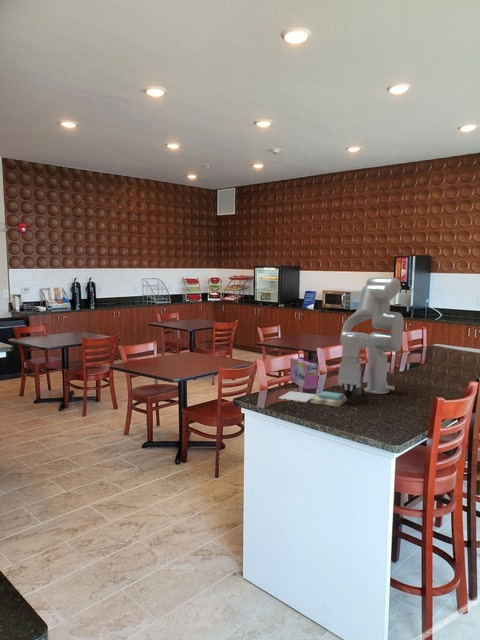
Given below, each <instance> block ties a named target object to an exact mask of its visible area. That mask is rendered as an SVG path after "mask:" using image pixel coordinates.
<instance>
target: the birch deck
mask: <svg viewBox="0 0 480 640" xmlns="http://www.w3.org/2000/svg"><path fill="white" fill-rule="evenodd" d="M320 393H321V392H318V393H317V394H316V393H315V394H316V395H315V396H313V397H312V398H310V400H309V401H310V404H319V405H326V406H333V407H341V405H343V404H344V403H345V402H346V401H347V400H348V399H346V396H345V395H343V398H342V399H340V400H339V401H338V400H330V399H323V398H318V396H319V394H320Z"/></svg>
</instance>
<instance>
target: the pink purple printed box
mask: <svg viewBox="0 0 480 640" xmlns="http://www.w3.org/2000/svg"><path fill="white" fill-rule="evenodd" d="M289 363H290V365H289V368H290V369H289V381H291V382H292V383H294V384H295V385H297V386H299V387H301V388H303V389H304V390H313V389H318V387H319V369H320V368H319V363H318V362H315V361H312V360H310V359H307V358H305V357H303V356H299V358H297V357H290V361H289Z"/></svg>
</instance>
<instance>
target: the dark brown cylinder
mask: <svg viewBox="0 0 480 640" xmlns="http://www.w3.org/2000/svg"><path fill="white" fill-rule="evenodd" d="M362 378H363V367H361V383H360V384H361V385H362V380H363V379H362ZM350 385H351V384H348V386H349V389H350ZM345 393H346V390H345V389H344V388H343V386H341V394H344V395H343V396H345ZM361 395H362V386H361V387H358V388H355V389H353V395H352V397H360V396H361Z"/></svg>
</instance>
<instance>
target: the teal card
mask: <svg viewBox="0 0 480 640" xmlns="http://www.w3.org/2000/svg"><path fill="white" fill-rule="evenodd" d="M343 396H345V395H344V394H342V392H341V393H339V392H333V391H325V390H324V391H322V392H320V394H319V396H318V398H323V399H330V400H338V401H339V400H340V399H342V398H343Z"/></svg>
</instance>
